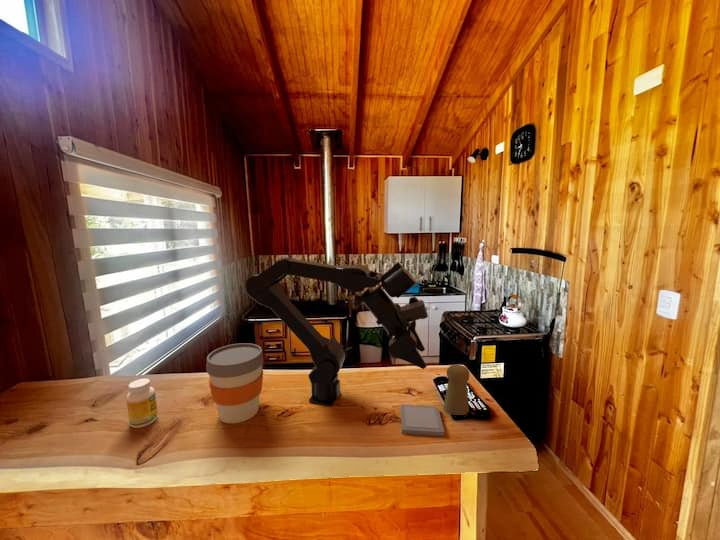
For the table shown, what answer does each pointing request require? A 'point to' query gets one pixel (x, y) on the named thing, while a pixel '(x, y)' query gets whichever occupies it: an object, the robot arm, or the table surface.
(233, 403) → the reusable coffee cup
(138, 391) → the supplement bottle
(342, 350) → the robot arm
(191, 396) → the table surface
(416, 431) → the coaster
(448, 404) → the cork
